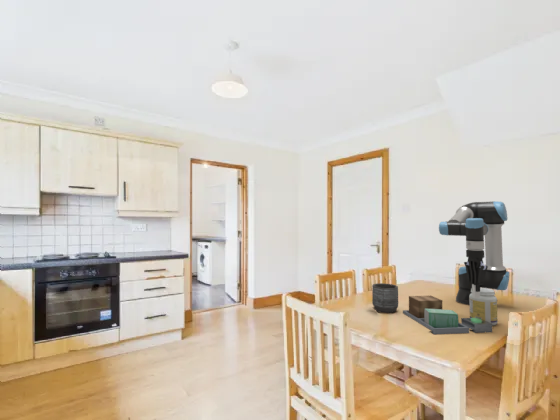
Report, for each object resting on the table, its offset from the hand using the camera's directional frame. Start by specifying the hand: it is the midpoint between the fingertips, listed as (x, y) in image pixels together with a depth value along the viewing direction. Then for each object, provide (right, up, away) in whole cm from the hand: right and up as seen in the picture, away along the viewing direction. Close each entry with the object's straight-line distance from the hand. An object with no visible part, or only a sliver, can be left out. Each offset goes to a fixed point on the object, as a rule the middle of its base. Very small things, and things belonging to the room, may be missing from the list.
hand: (476, 297), depth 148 cm
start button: (0, -14, -1) cm, 14 cm away
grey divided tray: (-17, -15, +8) cm, 24 cm away
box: (-17, -14, +1) cm, 22 cm away
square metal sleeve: (0, -15, -1) cm, 15 cm away
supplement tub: (+10, -16, +9) cm, 21 cm away
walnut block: (-18, -15, +15) cm, 27 cm away
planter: (-35, -16, +27) cm, 47 cm away
